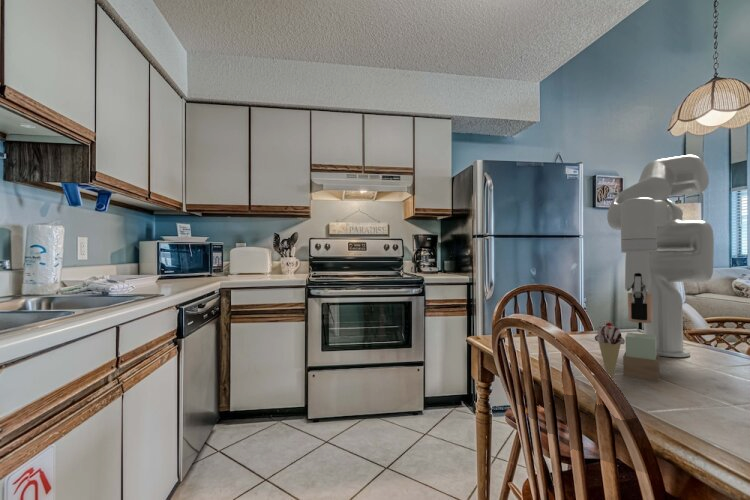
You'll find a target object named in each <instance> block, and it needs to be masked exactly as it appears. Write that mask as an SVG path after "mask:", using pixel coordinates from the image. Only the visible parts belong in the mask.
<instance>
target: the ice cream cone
mask: <svg viewBox="0 0 750 500" xmlns="http://www.w3.org/2000/svg"><path fill="white" fill-rule="evenodd" d="M594 340H595V341H596V342H598V344H599V349H600V352H601V357H602V361H603V365H604V369H605V372H606V371H607V373H608V374H609V375H610V376H611V378H612V379H614V376H615V375H614V374H615V370H616V367H617V361H618V357H619V353H620V348H621V345H625V344H626V339H625V338H624V337H622V333H621V331H620V330H619V328H618V327H616V326H614V325H613V323H611V322H607V323H606V324H605V325H602V326H599V328H598V330H597V334H596V335H595V336H594ZM607 373H606V374H607Z"/></svg>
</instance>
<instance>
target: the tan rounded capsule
mask: <svg viewBox="0 0 750 500" xmlns="http://www.w3.org/2000/svg"><path fill="white" fill-rule="evenodd" d="M631 303H632V292H628V293H627V320H628V321H629V322H634V323H643V324H644V323H652V294H648V293H646V304H647V320H636V319H632V318H631Z"/></svg>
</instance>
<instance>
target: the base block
mask: <svg viewBox="0 0 750 500" xmlns="http://www.w3.org/2000/svg"><path fill="white" fill-rule="evenodd" d="M622 358H623V364H622V365H623V366H622V367H623V376H624V377H630V378H635V379H644V380H648V381H649V380H650V381H655V382H659V381H660V356H659V355H657V356H656V360H649V359H642V358H635V357H627V356H626V351H625V352H624V354H623V356H622Z"/></svg>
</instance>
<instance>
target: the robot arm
mask: <svg viewBox="0 0 750 500" xmlns="http://www.w3.org/2000/svg"><path fill="white" fill-rule="evenodd" d="M703 161H704V160H702V159H701V157H699V156H698V155H694V154H686V155H680V156H673V157H667V158H660V159H655V160H653V161H651V162H649V163H648V164H646V165H645V166H644V167H643V169H642V171H641V174H640V177H639V180H638V182H637V183H635V184H632V185H631V186H629V187H627V188H626V189H623V190H622V191H620V192H618V193H617V194H616V195H615V196H614V197H613V198H612V201H611V203H610V205H609V207H608V210H607V218H606V219H607V224H608V226H609V227H610V228H612V229H613V230H616V231H620V250H621V251H620V252H621V253H622V254H625V260H624V261H625V262H624V263H625V264H624V266H625V267H624V279H625V280H624V289H625V291H626V292H629V291H630V290H631V293H632V303H631V318H632V319H636V320H647V304H646V293H648V294H652V323H643V334H647V335H656V352H657V355H659V357H669V358H688V357H690V355H691V351H689V349H686V348H684V330H683V329H684V328H683V327H684V321H683V297H682V294H681V293H680V291H679V290H678V289H677V288H676V287H675V286H674V285H673V284H672V283H705V282H708V281H710V280H711V278H712V277H713V272H714V245H715V243H714V242H715V241H714V237H715V236H714V230H713V228H712V226H711V224H710V222H707V221H705V220H702V219H701V220H699V219H698V220H697V219H694V220H693V219H692V220H683V214H684V213H683V210H682V208H681V207H680V206H679V205H678V204H677V203H675V202H674V201H672V200H670V199H669V197H674V196H686V195H693V194H695V195H696V194H700V193H703V192H705V191H706V190H707V188H708V185H709V183H710V182H709V181H710V179H709V178H710V177H709V173H708V171H707V168H706V166H705V163H704V162H703Z"/></svg>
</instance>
